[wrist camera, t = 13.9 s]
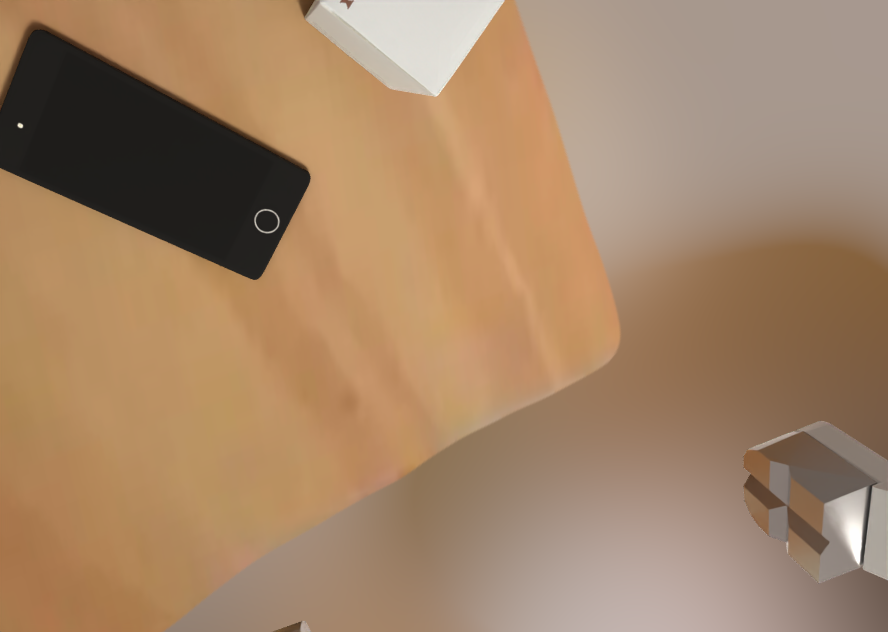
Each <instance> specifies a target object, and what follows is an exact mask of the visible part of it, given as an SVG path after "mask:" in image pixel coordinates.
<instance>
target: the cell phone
mask: <svg viewBox="0 0 888 632" xmlns="http://www.w3.org/2000/svg"><path fill="white" fill-rule="evenodd" d="M0 168H1V169H4V170H6V171H8V172H10V173H13V174H15V175H17V176H19V177H22V178H24V179H26V180H28V181H31V182H33V183H35V184H37V185H40V186H42V187H44V188H46V189H49V190H51V191H53V192H55V193H58V194H60V195H62V196H64V197H67V198H69V199H71V200H74V201H76V202H78V203H80V204H83V205H85V206H87V207H89V208H92V209H94V210H96V211H98V212H101V213H103V214H105V215H107V216H110V217H112V218H114V219H116V220H119V221H121V222H123V223H125V224H128V225H130V226H132V227H135V228H137V229H139V230H141V231H144V232H146V233H148V234H150V235H153V236H155V237H157V238H159V239H162V240H164V241H166V242H168V243H171V244H173V245H175V246H177V247H180V248H182V249H184V250H187V251H189V252H191V253H193V254H196V255H198V256H200V257H202V258H205V259H207V260H209V261H211V262H214V263H216V264H218V265H220V266H223V267H225V268H227V269H229V270H232V271H234V272H236V273H238V274H241V275H243V276H245V277H248V278H250V279H253V280H257V279H259V278H260V277H261V275H262V274H263V272H264V270H265V269H266V267H267V265H268V263H269V261H270V259H271V257H272V255H273V253H274V251H275V249H276V247H277V245H278V243H279V242H280V240H281V238H282V236H283V234H284V232H285V230H286V228H287V226H288V224H289V222H290V220H291V218H292V216H293V214H294V213H295V211H296V209H297V207H298V205H299V203H300V201H301V199H302V197H303V195H304V193H305V191H306V189H307V187H308V185H309V182H310V179H311V178H310V174H309V173H308V172H307V171H306V170H304V169H302V168H300V167H298V166H297V165H295V164H293V163H291V162H289V161H287V160H285V159H284V158H282V157H280V156H278V155H276V154H274V153H272V152H271V151H269V150H267V149H265V148H263V147H261V146H259V145H258V144H256V143H254V142H252V141H250V140H248V139H246V138H245V137H243V136H241V135H239V134H237V133H235V132H233V131H231V130H230V129H228V128H226V127H224V126H222V125H220V124H218V123H217V122H215V121H213V120H211V119H209V118H207V117H205V116H204V115H202V114H200V113H198V112H196V111H194V110H192V109H191V108H189V107H187V106H185V105H183V104H181V103H179V102H178V101H176V100H174V99H172V98H170V97H168V96H166V95H165V94H163V93H161V92H159V91H157V90H155V89H153V88H152V87H150V86H148V85H146V84H144V83H142V82H140V81H139V80H137V79H135V78H133V77H131V76H129V75H127V74H126V73H124V72H122V71H120V70H118V69H116V68H114V67H112V66H111V65H109V64H107V63H105V62H103V61H101V60H99V59H98V58H96V57H94V56H92V55H90V54H88V53H86V52H85V51H83V50H81V49H79V48H77V47H75V46H73V45H72V44H70V43H68V42H66V41H64V40H62V39H60V38H59V37H57V36H55V35H53V34H51V33H49V32H47V31H45V30H35V31H33V33H32V34H31V35H30V37H29V39H28V41H27V44H26V46H25V49H24V51H23V54H22V57H21V59H20V62H19V64H18V67H17V70H16V72H15V75H14V77H13V80H12V82H11V85H10V88H9V90H8V93H7V95H6V98H5V100H4V103H3V106H2V108H1V111H0Z"/></svg>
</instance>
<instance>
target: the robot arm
mask: <svg viewBox="0 0 888 632" xmlns="http://www.w3.org/2000/svg"><path fill="white" fill-rule="evenodd" d="M743 467H744V468H745V469H746V470H747V471H748V472H749V473H750V476H749V477H748V479H747V481H746V483H745V484H744V486H743V489H744V501H745V503H746V506H747V508H748V511H749V513H750V515H751V517H752V518H753V519H754V521H755V522H756V524H757V525H758V526H759V527H760V528H761V529H762V530H763V531H764V532H765V533H766V534H767V535H768V536H769V537H772V538H775V539H778V540H781V541H784V542H786V545H787V551H788V555H789V556H790V557H791V558H792V559H793V560H794V561H795V562H796V563H797V564H798V565H799V566H800V567H801V568H803V569H804V570H805V571H806V572H807V573H808V574H809V575H810V576H811V577H812V578H813V579H814V580H815V581H817V583H821V582H824V581H827V580H829V579H832V578H834V577H837V576H839V575H842V574H845V573H847V572H850V571H852V570H855V569H857V568H860V567H862V566H863V569H864V570H866V571H868V572H870V573H873V574H875V575H877V576H880V577H882V578H884V579H886V580H888V460H886V459H885V458H883V457H882V456H880V455H878V454H877V453H875V452H874V451H872V450H871V449H869V448H867V447H866V446H864V445H863V444H861V443H860V442H858V441H856V440H855V439H854V438H852V437H850V436H849V435H847V434H846V433H844V432H843V431H841V430H839V429H838V428H836V427H835V426H833V425H832V424H830V423H827V422H823V421H819V422H816V423H814V424H811V425H808V426H806V427H803V428H801V429H798V430H796V431H794V432H790V433H787V434H785V435H782V436H780V437H777V438H775V439H773V440H770V441H767V442H765V443H762V444H760V445H757V446H755V447H752V448H750V449H747V451H746V453H745V454H744V456H743ZM273 632H311V631H310V629H309V627H308V625H307V624H306V622H305V621H301V622H299V623H296V624H293V625H290V626H287V627H284V628H282V629H279V630H276V631H273Z"/></svg>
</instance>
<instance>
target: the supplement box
mask: <svg viewBox="0 0 888 632" xmlns="http://www.w3.org/2000/svg"><path fill="white" fill-rule="evenodd" d="M504 1H505V0H314V2H313V4H312V6H311V7H310V9H309V11H308V13H307V14H306V16H305V20H306V21H307V22H309V23H310V24H311V25H312V26H313V27H315V28H316V29H317V30H318V31H320V32H321V33H322V34H323V35H325V36H326V37H327V38H328V39H329V40H331V41H332V42H333V43H334V44H335V45H336V46H338V47H339V48H340V49H341V50H342V51H344V52H345V53H346V54H347V55H348V56H350V57H351V58H352V59H353V60H355V61H356V62H357V63H358V64H360V65H361V66H362V67H363V68H365V69H366V70H367V71H368V72H370V73H371V74H372V75H373V76H375V77H376V78H377V79H378V80H380V81H381V82H382V83H383V84H385V85H386V86H387V87H388V88H390V89H392V90H399V91H405V92H411V93H417V94H424V95H430V96H438V95H439V93H440V92H441V91H442V89H443V88H444V87H445V85H446V84H447V83H448V81H449V80H450V78H451V77H452V75H453V74H454V73H455V71H456V70H457V68H458V67H459V65H460V64H461V63H462V61H463V60H464V58H465V57H466V55H467V54H468V53H469V51H470V50H471V48H472V47H473V45H474V44H475V43H476V41H477V40H478V38H479V37H480V35H481V34H482V32H483V31H484V30H485V28H486V27H487V25H488V24H489V22H490V21H491V19H492V18H493V17H494V15H495V14H496V12H497V11H498V9H499V8H500V6H501V5H502V4H503V2H504Z"/></svg>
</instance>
